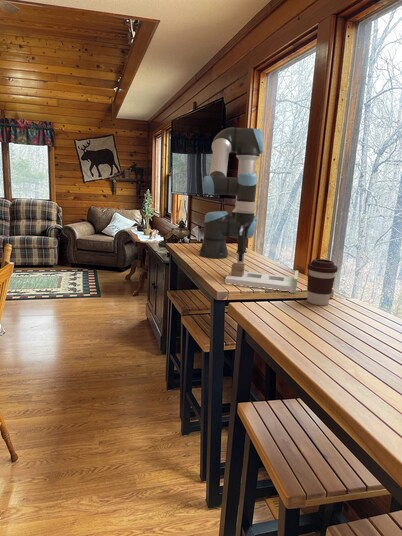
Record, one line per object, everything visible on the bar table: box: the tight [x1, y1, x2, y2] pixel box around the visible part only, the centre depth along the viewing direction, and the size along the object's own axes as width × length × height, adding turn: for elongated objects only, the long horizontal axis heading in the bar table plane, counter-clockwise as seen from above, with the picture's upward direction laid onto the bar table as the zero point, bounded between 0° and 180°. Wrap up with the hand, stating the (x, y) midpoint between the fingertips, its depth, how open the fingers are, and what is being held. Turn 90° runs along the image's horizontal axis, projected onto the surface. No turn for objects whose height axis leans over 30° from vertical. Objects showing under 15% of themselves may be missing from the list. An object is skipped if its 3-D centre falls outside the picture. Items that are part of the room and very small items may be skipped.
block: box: [230, 262, 246, 277], centre depth 156 cm, size 4×4×4 cm
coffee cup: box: [306, 258, 338, 306], centre depth 134 cm, size 10×10×15 cm
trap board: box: [224, 270, 299, 294], centre depth 154 cm, size 15×27×5 cm, turn 75°
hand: (240, 268), depth 162 cm, fingers closed
